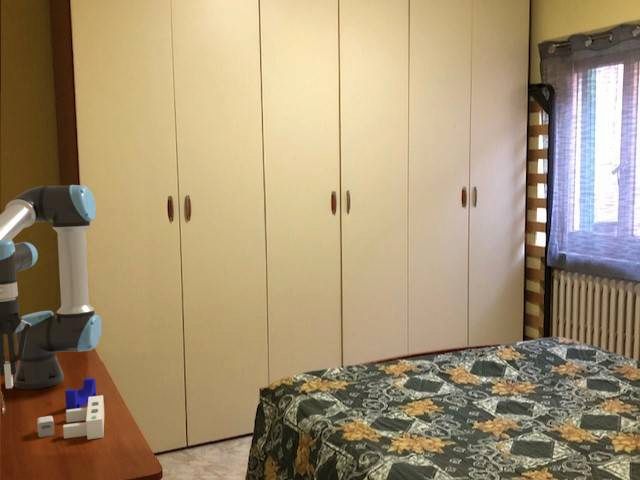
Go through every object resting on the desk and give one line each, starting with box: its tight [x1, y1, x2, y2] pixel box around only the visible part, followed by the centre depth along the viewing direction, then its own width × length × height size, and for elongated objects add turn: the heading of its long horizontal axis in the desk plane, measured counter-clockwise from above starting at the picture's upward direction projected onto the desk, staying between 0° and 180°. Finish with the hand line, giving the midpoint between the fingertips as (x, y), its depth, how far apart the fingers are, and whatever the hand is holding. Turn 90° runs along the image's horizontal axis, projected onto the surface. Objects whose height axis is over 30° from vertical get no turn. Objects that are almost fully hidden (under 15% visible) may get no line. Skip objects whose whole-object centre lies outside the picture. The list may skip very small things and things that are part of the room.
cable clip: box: [64, 377, 97, 410], centre depth 215 cm, size 12×4×6 cm, turn 169°
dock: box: [62, 394, 105, 440], centre depth 196 cm, size 20×10×5 cm, turn 16°
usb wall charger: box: [36, 415, 55, 438], centre depth 193 cm, size 4×7×4 cm, turn 24°
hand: (9, 386), depth 189 cm, fingers closed
